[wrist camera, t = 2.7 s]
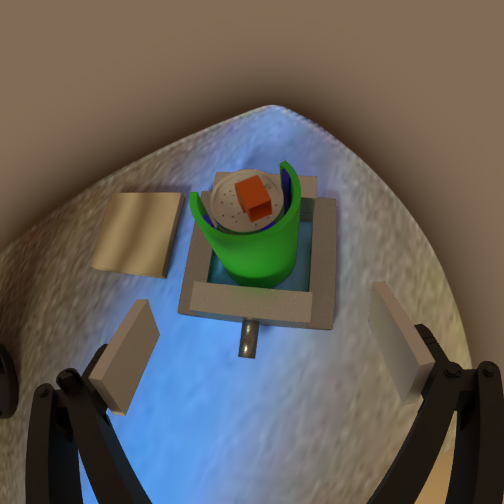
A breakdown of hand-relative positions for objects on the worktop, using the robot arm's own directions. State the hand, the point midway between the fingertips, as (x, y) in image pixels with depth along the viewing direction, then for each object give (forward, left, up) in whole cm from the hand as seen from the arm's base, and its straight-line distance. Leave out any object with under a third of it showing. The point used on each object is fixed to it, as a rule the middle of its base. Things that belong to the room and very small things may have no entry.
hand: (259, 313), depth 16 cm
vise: (-2, +7, -17) cm, 19 cm away
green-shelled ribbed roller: (-2, +9, -18) cm, 20 cm away
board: (-20, +11, -17) cm, 29 cm away
